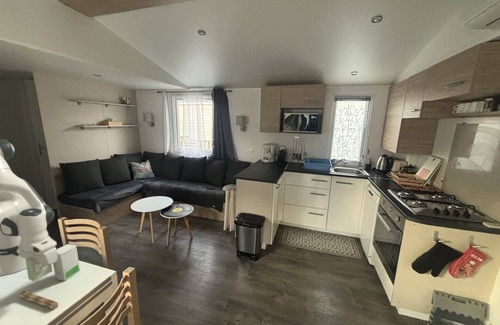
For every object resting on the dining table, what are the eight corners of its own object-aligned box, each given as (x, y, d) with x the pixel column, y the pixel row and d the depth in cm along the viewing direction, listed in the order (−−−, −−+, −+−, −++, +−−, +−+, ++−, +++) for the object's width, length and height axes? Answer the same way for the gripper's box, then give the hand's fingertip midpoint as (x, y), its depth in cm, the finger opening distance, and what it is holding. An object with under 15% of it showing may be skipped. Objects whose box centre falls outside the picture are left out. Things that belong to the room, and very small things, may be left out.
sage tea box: (34, 281, 95) (31, 261, 93) (28, 279, 96) (25, 259, 94) (52, 271, 102) (49, 252, 99) (46, 269, 103) (43, 250, 100)
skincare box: (64, 281, 104) (59, 254, 101) (54, 279, 105) (49, 252, 102) (81, 270, 112) (76, 245, 109) (71, 268, 113) (67, 243, 110)
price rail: (19, 298, 94) (18, 293, 93) (24, 295, 96) (23, 290, 95) (53, 310, 88) (52, 305, 88) (58, 306, 90) (57, 302, 90)
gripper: (11, 241, 95) (15, 267, 97) (42, 251, 90) (46, 277, 93) (28, 234, 101) (32, 258, 103) (59, 243, 96) (62, 268, 99)
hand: (39, 267), depth 98 cm, fingers closed on sage tea box, 4 cm apart
